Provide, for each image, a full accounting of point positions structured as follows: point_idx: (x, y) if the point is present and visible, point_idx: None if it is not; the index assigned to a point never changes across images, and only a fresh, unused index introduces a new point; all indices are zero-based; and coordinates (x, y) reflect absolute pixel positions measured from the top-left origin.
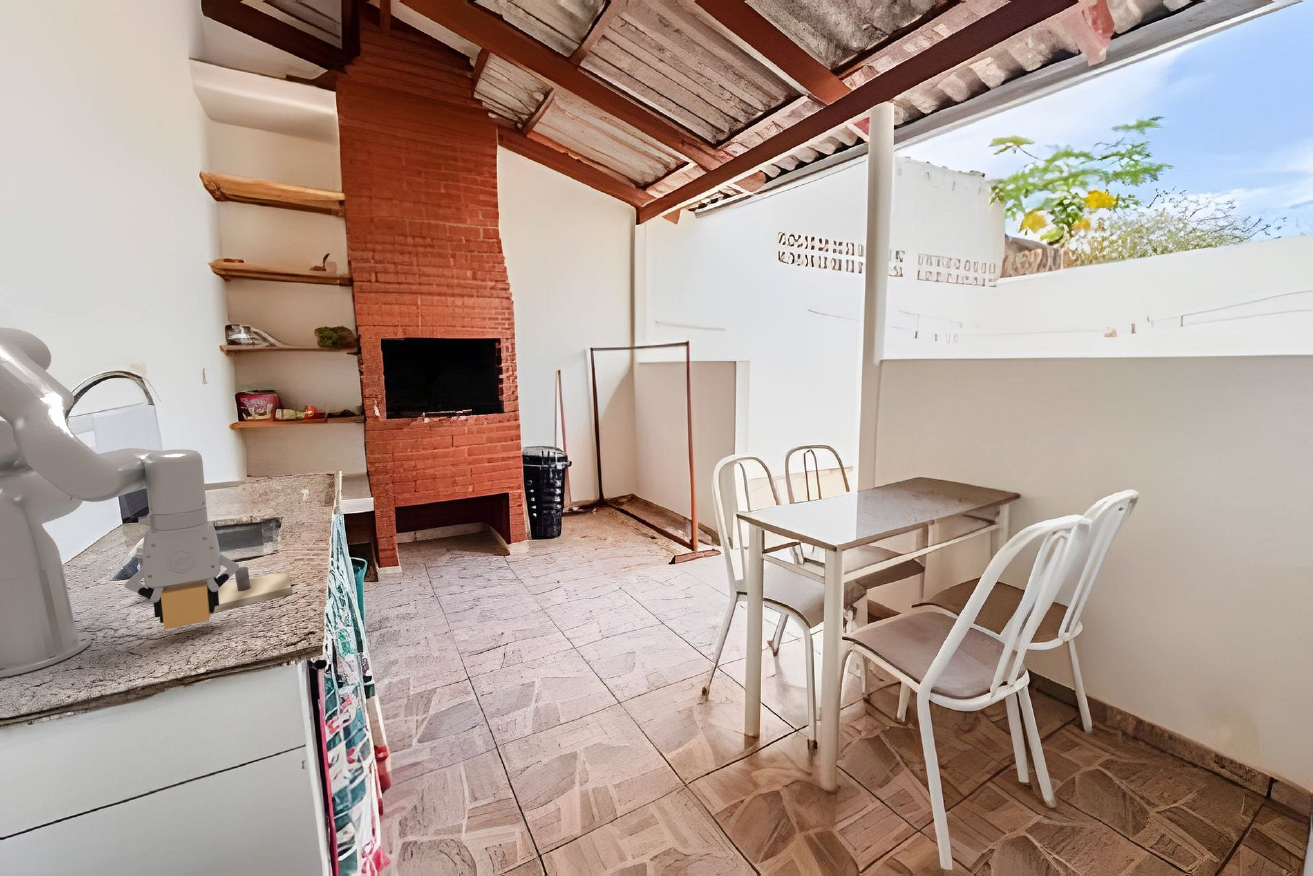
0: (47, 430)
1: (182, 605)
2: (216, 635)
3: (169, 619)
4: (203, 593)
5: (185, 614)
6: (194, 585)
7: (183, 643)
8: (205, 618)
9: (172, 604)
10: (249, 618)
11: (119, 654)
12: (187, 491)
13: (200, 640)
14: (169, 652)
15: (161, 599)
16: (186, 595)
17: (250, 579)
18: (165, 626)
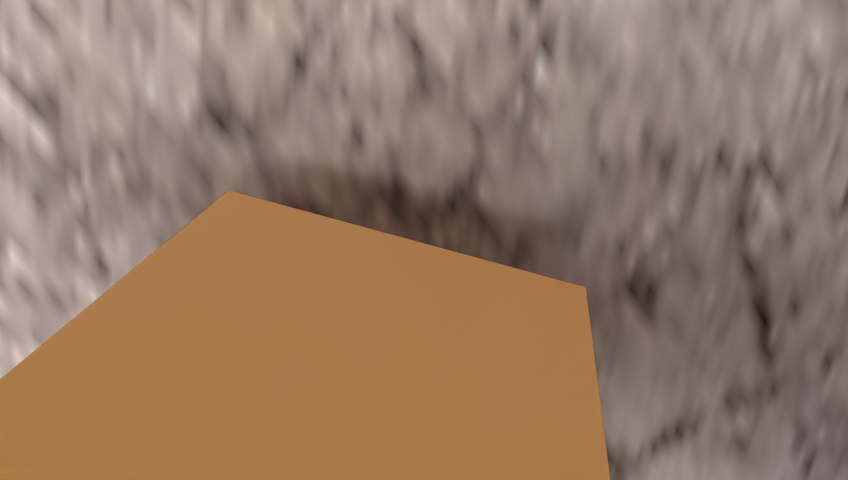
0: None
1: (381, 375)
2: (246, 97)
3: (538, 323)
4: (61, 375)
5: (387, 299)
6: None
7: (468, 167)
8: (244, 208)
9: (486, 428)
10: (13, 232)
11: (822, 374)
12: None
13: (359, 106)
14: (585, 67)
15: None
16: (279, 451)
17: None
18: (575, 298)
